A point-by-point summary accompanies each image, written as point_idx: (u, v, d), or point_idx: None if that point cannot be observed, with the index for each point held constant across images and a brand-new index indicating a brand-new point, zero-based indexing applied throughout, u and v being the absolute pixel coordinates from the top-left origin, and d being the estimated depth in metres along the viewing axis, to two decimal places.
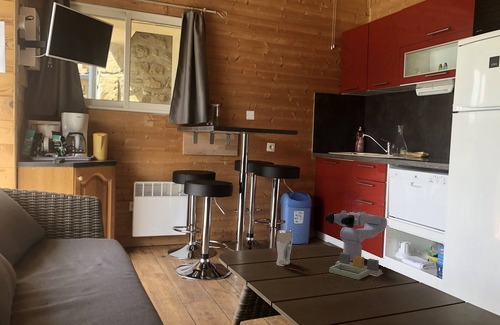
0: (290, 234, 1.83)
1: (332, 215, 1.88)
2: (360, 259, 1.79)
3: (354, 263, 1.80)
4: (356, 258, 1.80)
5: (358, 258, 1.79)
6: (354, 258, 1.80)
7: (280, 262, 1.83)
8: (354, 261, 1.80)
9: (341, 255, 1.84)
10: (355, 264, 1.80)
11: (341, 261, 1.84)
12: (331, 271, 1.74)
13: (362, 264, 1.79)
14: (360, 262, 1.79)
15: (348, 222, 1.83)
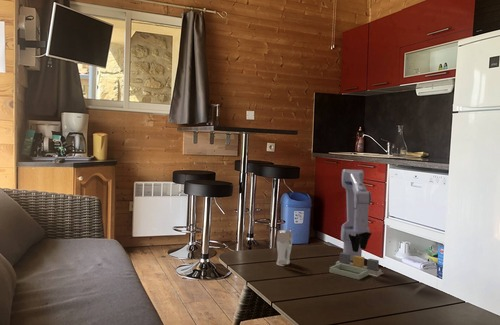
0: (290, 234, 1.83)
1: None
2: (360, 259, 1.79)
3: (354, 263, 1.80)
4: (356, 258, 1.80)
5: (358, 258, 1.79)
6: (354, 258, 1.80)
7: (280, 262, 1.83)
8: (354, 261, 1.80)
9: (341, 255, 1.84)
10: (355, 264, 1.80)
11: (341, 261, 1.84)
12: (331, 271, 1.74)
13: (362, 264, 1.79)
14: (360, 262, 1.79)
15: None
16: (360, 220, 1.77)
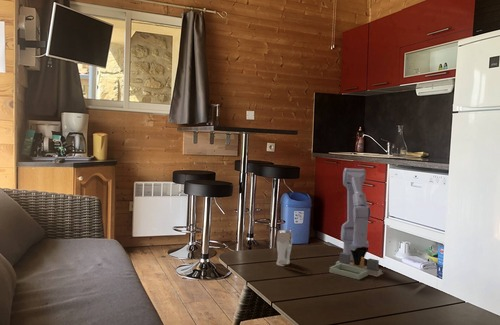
0: (290, 234, 1.83)
1: None
2: None
3: None
4: None
5: None
6: None
7: (280, 262, 1.83)
8: None
9: (341, 255, 1.84)
10: None
11: (341, 261, 1.84)
12: (331, 271, 1.74)
13: (362, 264, 1.79)
14: (360, 262, 1.79)
15: None
16: (359, 234, 1.77)
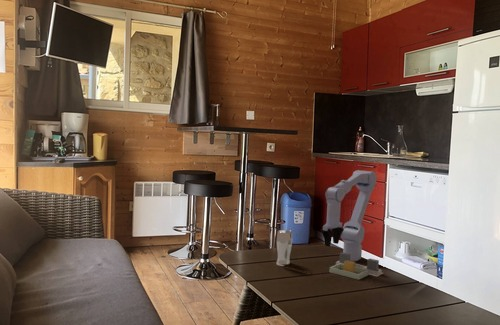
0: (290, 234, 1.83)
1: None
2: (351, 264, 1.72)
3: (345, 268, 1.73)
4: (347, 263, 1.73)
5: (349, 263, 1.72)
6: (345, 263, 1.73)
7: (280, 262, 1.83)
8: (345, 266, 1.73)
9: (341, 255, 1.84)
10: (345, 270, 1.73)
11: (341, 261, 1.84)
12: (331, 271, 1.74)
13: (353, 269, 1.72)
14: (351, 267, 1.72)
15: None
16: (332, 215, 1.83)
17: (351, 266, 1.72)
